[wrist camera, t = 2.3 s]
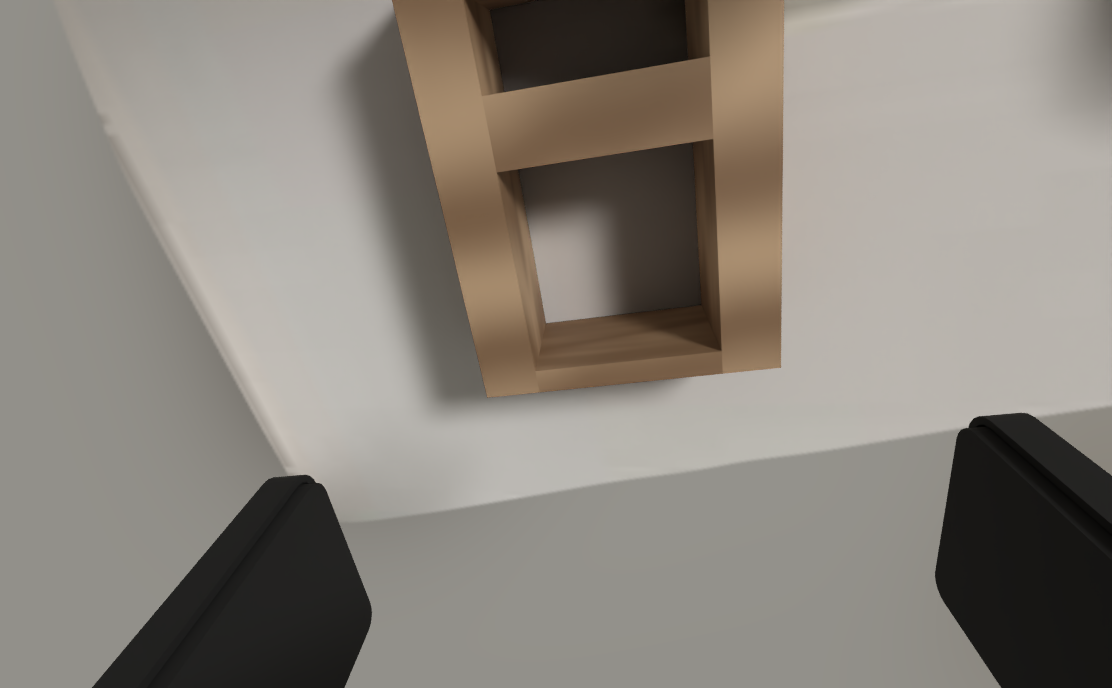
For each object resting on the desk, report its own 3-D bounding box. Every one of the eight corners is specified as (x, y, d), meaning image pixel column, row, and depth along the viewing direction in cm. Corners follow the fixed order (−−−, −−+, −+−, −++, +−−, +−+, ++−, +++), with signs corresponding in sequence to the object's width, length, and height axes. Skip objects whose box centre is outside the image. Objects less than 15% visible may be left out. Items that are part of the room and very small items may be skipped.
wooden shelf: (425, -24, 22) (380, -50, 17) (744, -89, 20) (785, -136, 16) (505, 346, 28) (487, 397, 24) (750, 318, 27) (780, 367, 22)
